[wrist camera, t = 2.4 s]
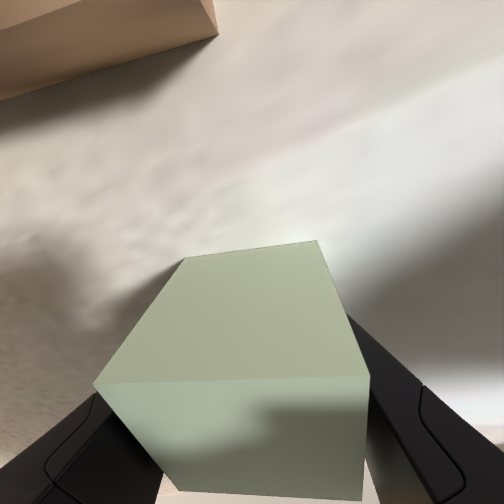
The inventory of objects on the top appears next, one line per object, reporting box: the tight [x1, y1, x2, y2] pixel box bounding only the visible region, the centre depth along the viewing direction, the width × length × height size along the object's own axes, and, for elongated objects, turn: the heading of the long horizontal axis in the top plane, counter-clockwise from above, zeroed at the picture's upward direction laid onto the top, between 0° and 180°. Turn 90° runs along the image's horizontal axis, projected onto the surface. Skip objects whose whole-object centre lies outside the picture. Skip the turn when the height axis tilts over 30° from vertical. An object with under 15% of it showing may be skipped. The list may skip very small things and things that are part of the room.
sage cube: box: [92, 240, 370, 501], centre depth 7 cm, size 5×5×5 cm
